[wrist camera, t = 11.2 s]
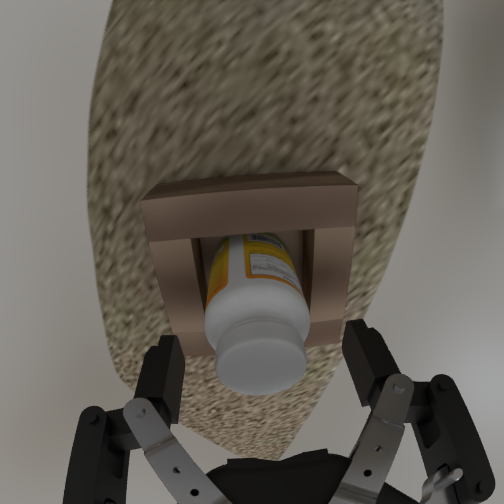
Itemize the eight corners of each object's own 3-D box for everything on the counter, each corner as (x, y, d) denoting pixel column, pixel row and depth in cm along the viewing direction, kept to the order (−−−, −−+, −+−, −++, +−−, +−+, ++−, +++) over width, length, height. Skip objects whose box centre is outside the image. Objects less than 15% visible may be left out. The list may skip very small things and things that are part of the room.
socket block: (156, 184, 18) (140, 201, 15) (337, 171, 18) (358, 185, 15) (186, 325, 23) (180, 356, 20) (326, 313, 24) (338, 342, 20)
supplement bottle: (230, 301, 22) (229, 412, 13) (199, 242, 19) (174, 348, 11) (298, 278, 21) (332, 385, 12) (274, 213, 19) (308, 308, 10)
